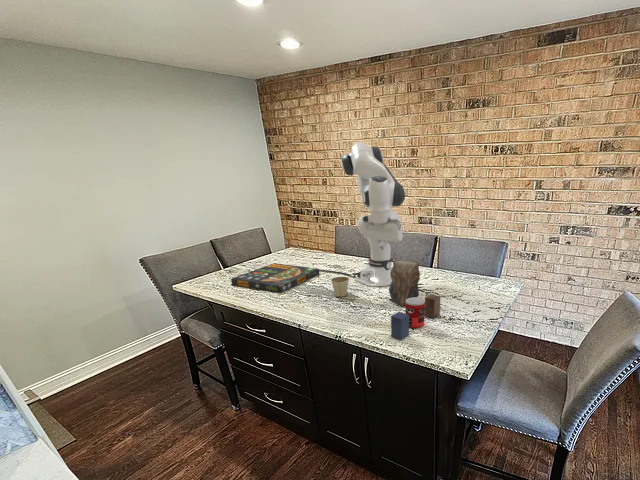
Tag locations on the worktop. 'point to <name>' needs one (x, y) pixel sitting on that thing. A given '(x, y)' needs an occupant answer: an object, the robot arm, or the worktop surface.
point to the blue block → (399, 325)
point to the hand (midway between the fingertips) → (382, 249)
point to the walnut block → (432, 306)
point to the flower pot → (340, 286)
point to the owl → (404, 281)
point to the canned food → (415, 311)
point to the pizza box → (275, 277)
